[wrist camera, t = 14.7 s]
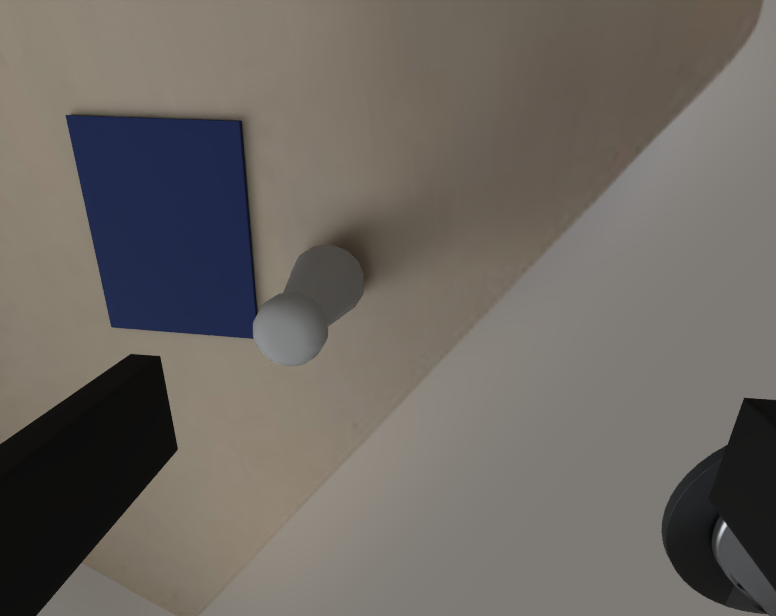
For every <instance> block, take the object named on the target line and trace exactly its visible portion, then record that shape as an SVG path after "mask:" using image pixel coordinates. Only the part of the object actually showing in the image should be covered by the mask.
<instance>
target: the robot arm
mask: <svg viewBox="0 0 776 616" xmlns="http://www.w3.org/2000/svg"><path fill="white" fill-rule="evenodd" d="M177 450H178V447H177V442H176V437H175V432H174V426H173V421H172V416H171V411H170V405H169V400H168V395H167V390H166V384H165V379H164V374H163V368H162V363H161V358H160V356H150V355H136V354H130V355H129V356H127V357H126V358H124V359H123V360H121V361H120V362H118V363H117V364H116V365H114V366H113V367H111V368H110V369H108V370H107V371H105V372H104V373H103V374H101V375H100V376H98V377H97V378H95V379H94V380H92V381H91V382H90V383H88V384H87V385H85V386H84V387H82V388H81V389H79V390H78V391H77V392H75V393H74V394H72V395H71V396H69V397H68V398H66V399H65V400H64V401H62V402H61V403H59V404H58V405H56V406H55V407H53V408H52V409H51V410H49V411H48V412H46V413H45V414H43V415H42V416H40V417H39V418H38V419H36V420H35V421H33V422H32V423H30V424H29V425H27V426H26V427H25V428H23V429H22V430H20V431H19V432H17V433H16V434H14V435H13V436H12V437H10V438H9V439H7V440H6V441H4V442H3V443H1V444H0V616H36V615H37V614H38V613H39V612H40V611H41V610H42V608H43V607H44V606H45V605H46V604H47V602H48V601H49V600H50V599H51V598H52V597H53V595H54V594H55V593H56V592H57V591H58V590H59V588H60V587H61V586H62V585H63V584H64V582H65V581H66V580H67V579H68V578H69V577H70V575H71V574H72V573H73V572H74V571H75V570H76V568H77V567H78V566H79V565H80V564H81V563H82V561H83V560H84V559H85V558H86V557H87V556H88V554H89V553H90V552H91V551H92V550H93V548H94V547H95V546H96V545H97V544H98V543H99V541H100V540H101V539H102V538H103V537H104V536H105V534H106V533H107V532H108V531H109V530H110V529H111V527H112V526H113V525H114V524H115V523H116V522H117V520H118V519H119V518H120V517H121V516H122V514H123V513H124V512H125V511H126V510H127V509H128V507H129V506H130V505H131V504H132V503H133V502H134V500H135V499H136V498H137V497H138V496H139V495H140V493H141V492H142V491H143V490H144V489H145V487H146V486H147V485H148V484H149V483H150V482H151V480H152V479H153V478H154V477H155V476H156V475H157V473H158V472H159V471H160V470H161V469H162V468H163V466H164V465H165V464H166V463H167V462H168V460H169V459H170V458H171V457H172V456H173V455H174V453H175V452H176V451H177ZM708 500H709V501H710V502H711V504H712V505H713V506H714V508H715V509H716V511H717V512H718V513H717V515H716V516H715V518H714V521H713V523H712V526H711V530H710V547H711V550H712V553H713V555H714V557H715V559H716V560H717V562H718V564H719V565H720V567H721V568H722V570H723V571H724V573H725V574H726V576H727V577H728V578H729V579H730V580H731V581H732V582H733V584H734V585H735V586H736V587H737V588H738V589H739V590H741V591H742V592H743V593H744V594H745V595H747V596H748V597H750V598H751V599H753V600H755V601H756V602H757V603H758V605H757V604H755V603H753V602H751V601H748V600H746V599H745V600H746V601H747V602H749V603H750V604H751V605H752V606H753V607H754V608H756V609H758V610H760V611H762V612H765V613H767V614H768V615H770V616H776V400H767V399H753V398H744V400H743V403H742V406H741V409H740V411H739V414H738V417H737V420H736V423H735V425H734V428H733V431H732V434H731V437H730V440H729V443H728V445H727V448H726V451H725V454H724V457H723V459H722V462H721V465H720V468H719V471H718V474H717V476H716V479H715V482H714V485H713V488H712V491H711V493H710V496H709V499H708Z"/></svg>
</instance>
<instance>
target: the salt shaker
mask: <svg viewBox="0 0 776 616" xmlns="http://www.w3.org/2000/svg"><path fill="white" fill-rule="evenodd" d="M363 288H364V274H363V271H362V269H361V266H360V264H359V261H358V260H356V259H355V258H354V257H353V256H352V255H351V254H350V253H349V252H348V251H347V250H345V249H342V248H339V247H337V246H334V245H331V244H330V245H322V246H314V247H312V248H310V249H309V250H307V251H306V252H304V253H303V254H301V255H299V257H298V259H297V261H296V263H295V265H294V267H293V269H292V271H291V274H290V277H289V279H288V282H287V285H286V287H285V290H284V292H283V293H282V294H278V295H276V296H275V297H273V298H272V299H270V300H268V301H267V302H265V303H264V304H263V305H262V306H261V308H260V310H259V312H258V314H257V316H256V318H255V320H254V322H253V338H254V340H255V342H256V344H257V346H258V348H259V350H260V351H261V352H262V353H263V354H264V355H265V356H267V357H268V358H269V359H270V360H271V361H273V362H276V363H279V364H282V365H285V366H297V365H303V364H304V363H306V362H308V361H310V360H311V359H313V358H314V357H315V356H317V355H318V353H319V352H320V350H321V349H322V347H323V346H324V344H325V342H326V340H327V338H328V326H329V325H331V324H332V323H333V322H335V321H336V320H338V319H339V318H340V317H342V316H343V315H344V314H346V313H347V312H349V311H350V310H351V309H353V308H354V307H355V306H356V304H357V303H358V301H359V300H360V298H361V297H362V295H363Z"/></svg>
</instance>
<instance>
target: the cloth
mask: <svg viewBox="0 0 776 616" xmlns="http://www.w3.org/2000/svg"><path fill="white" fill-rule="evenodd" d="M66 119H67V124H68V128H69V133H70V138H71V142H72V147H73V151H74V156H75V161H76V165H77V170H78V175H79V179H80V184H81V188H82V193H83V198H84V202H85V207H86V212H87V216H88V221H89V226H90V230H91V235H92V239H93V244H94V249H95V253H96V258H97V263H98V267H99V272H100V276H101V281H102V286H103V290H104V295H105V300H106V304H107V309H108V314H109V318H110V323H111V327H115V328H127V329H140V330H152V331H165V332H177V333H190V334H202V335H215V336H227V337H239V338H252V339H254V338H253V322H254V320H255V318H256V316H257V305H256V292H255V280H254V268H253V256H252V244H251V232H250V220H249V208H248V195H247V183H246V171H245V159H244V147H243V135H242V123H241V121H224V120H194V119H164V118H134V117H105V116H75V115H66Z"/></svg>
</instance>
